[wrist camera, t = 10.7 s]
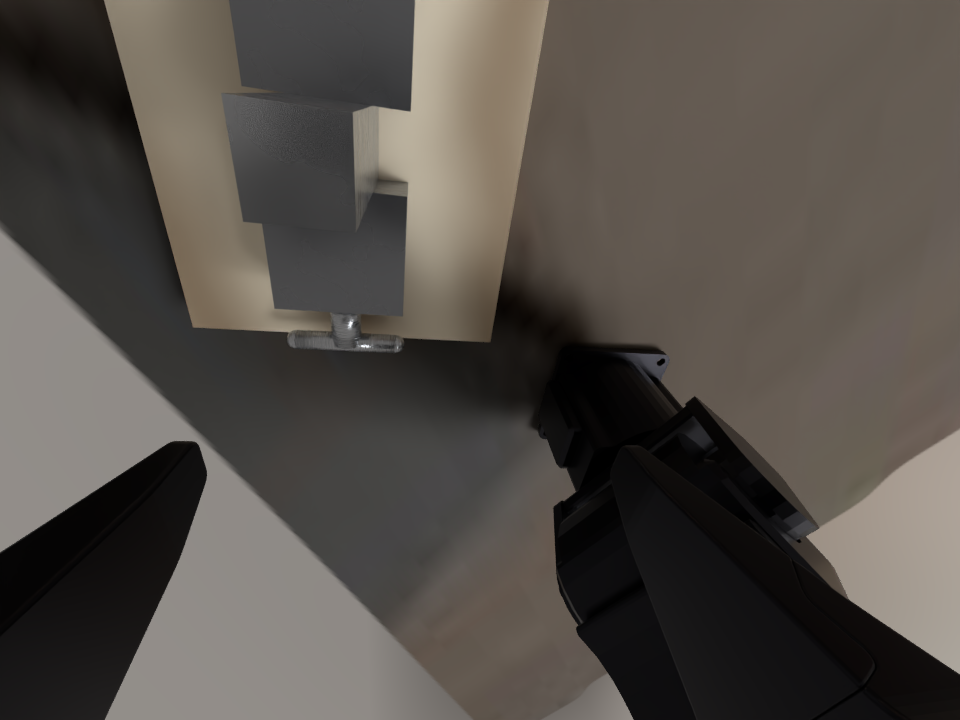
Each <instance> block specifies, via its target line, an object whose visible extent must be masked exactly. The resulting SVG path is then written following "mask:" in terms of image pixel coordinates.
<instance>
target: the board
mask: <svg viewBox="0 0 960 720" xmlns="http://www.w3.org/2000/svg"><path fill="white" fill-rule="evenodd" d="M104 2H105V6H106V9H107V13H108V17H109V20H110V24H111V28H112V31H113V35H114V39H115V42H116V46H117V50H118V53H119V57H120V61H121V64H122V68H123V72H124V75H125V79H126V83H127V86H128V90H129V94H130V97H131V101H132V105H133V108H134V112H135V116H136V119H137V123H138V127H139V131H140V134H141V138H142V142H143V145H144V149H145V153H146V156H147V160H148V164H149V167H150V171H151V175H152V178H153V182H154V186H155V189H156V193H157V197H158V200H159V204H160V208H161V211H162V215H163V219H164V222H165V226H166V230H167V233H168V237H169V241H170V244H171V248H172V252H173V255H174V259H175V263H176V266H177V270H178V274H179V277H180V281H181V285H182V288H183V292H184V296H185V299H186V303H187V307H188V310H189V314H190V318H191V321H192V325H193V327H196V328H216V329H235V330H255V331H275V332H291V331H293V330H312V331H331V318H330V312H319V311H302V310H286V309H274V302H273V295H272V289H271V282H270V275H269V268H268V262H267V255H266V248H265V241H264V234H263V228H262V224H260V223H249V222H243V218H242V212H241V207H240V201H239V195H238V189H237V183H236V177H235V172H234V166H233V160H232V154H231V148H230V142H229V137H228V131H227V125H226V119H225V113H224V107H223V102H222V96H221V93H284V92H277V91H271V90H264V89H257V88H251V87H244V86H242V85H241V79H240V72H239V65H238V58H237V52H236V45H235V38H234V31H233V25H232V18H231V11H230V4H229V0H104ZM548 3H549V0H415V24H414V50H413V76H412V102H411V112H409V111H402V110H396V109H389V108H383V107H379V179H383V180H391V181H399V182H408V205H407V231H406V257H405V283H404V303H403V317H402V316H386V315H369V314H361V331H362V333H370V334H389V335H398V336H400V337H401V338H414V339H433V340H453V341H473V342H490V340H491V335H492V329H493V323H494V317H495V311H496V306H497V300H498V294H499V288H500V282H501V277H502V271H503V265H504V259H505V253H506V247H507V242H508V236H509V230H510V224H511V218H512V213H513V207H514V201H515V195H516V189H517V184H518V178H519V172H520V166H521V160H522V155H523V149H524V143H525V137H526V131H527V125H528V120H529V114H530V108H531V102H532V96H533V91H534V85H535V79H536V73H537V67H538V62H539V56H540V50H541V44H542V38H543V32H544V27H545V21H546V15H547V9H548Z"/></svg>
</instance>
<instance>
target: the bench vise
mask: <svg viewBox="0 0 960 720" xmlns="http://www.w3.org/2000/svg"><path fill="white" fill-rule="evenodd" d="M229 4H230V11H231V18H232V25H233V31H234V38H235V45H236V52H237V58H238V65H239V72H240V79H241V85H242V86H244V87H251V88H257V89H264V90H271V91H277V92H284V93H221V96H222V102H223V107H224V113H225V119H226V125H227V131H228V137H229V142H230V148H231V154H232V160H233V166H234V172H235V177H236V183H237V189H238V195H239V201H240V207H241V212H242V218H243V222H249V223H260V224H262V228H263V234H264V241H265V248H266V255H267V262H268V268H269V275H270V282H271V289H272V295H273V302H274V309H286V310H302V311H319V312H330V318H331V331H312V330H293V331H291V332H290V333H289V334H288V335H287V343H288V345H289V346H290V347H292V348H294V349H310V350H333V351H356V352H379V353H398V352H400V351H402V349H403V348H404V340H403V339H402V338H401V337H400V336H398V335H389V334H370V333H362V331H361V314H369V315H386V316H402V317H403V303H404V283H405V257H406V231H407V205H408V182H399V181H391V180H383V179H379V107H383V108H389V109H396V110H402V111H409V112H411V102H412V76H413V50H414V24H415V0H229Z"/></svg>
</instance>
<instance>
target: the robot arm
mask: <svg viewBox="0 0 960 720" xmlns="http://www.w3.org/2000/svg"><path fill="white" fill-rule="evenodd" d="M568 354H572V355H571V356H570V357H569V358H565V357H566V356H567V355H568ZM661 358H662V359H661ZM659 359H661V360H660V361H658V360H659ZM669 360H670V359H669V357H668V356H667V355H666V354H665V353H664V352H663V351H652V350H632V349H613V348H593V347H573V346H568V347H565V348H563V349H562V350H561V351H560V352H559V355H558V359H557V362H556V366H555V369H554V373H553V376H552V380H550V381H549V382H548V383H547V386H546V389H545V393H544V397H543V400H542V404H541V408H540V411H539V415H538V416H539V419H540V423H539V426H538V433H539V436H540V437H541V438H542V439H547V440H548V443H549V445H550V448H551V451H552V453H553V456H554V459H555V461H556V464H557V465H558V466H559V467H560V468H567V471H568V473H569V476H570V478H571V481H572V483H573V486H574V488H575V491H576V492H575V493H574V494H573V495H571V496H570V497H569V498H568V499H566V500H565V501H560V502H559V503H558V504H557V505H555V506H554V508H553V509H554V531H555V553H556V574H557V581H558V585H559V591H560V594H561V596H562V597H563V599H564V602H565V604H566V606H567V608H568V610H569V611H570V613H571V615H572V617H573V618H574V620H575V621H576V622H577V624H578V626H577V627H576V630H577V633H578V635H579V637H580V638H581V639H582V640H583V641H584V643H585V644H586V645H587V646H588V647H589V648H590V649H591V651H592V652H593V653H594V654H595V655H596V656H597V658H598V659H599V660H600V662H601V663H602V665H603V666H604V668H605V669H606V671H607V672H608V674H609V675H610V677H611V678H612V680H613V681H614V683H615V685H616V687H617V688H618V690H619V692H620V694H621V696H622V697H623V699H624V701H625V703H626V705H627V707H628V709H629V711H630V713H631V715H632V717H633V719H634V720H960V674H958V673H957V672H955V671H954V670H952V669H951V668H949V667H948V666H946V665H945V664H943V663H942V662H940V661H939V660H937V659H936V658H934V657H933V656H931V655H930V654H928V653H927V652H925V651H924V650H922V649H921V648H919V647H918V646H916V645H915V644H914V643H912V642H910V641H909V640H907V639H906V638H904V637H903V636H902V635H900V634H898V633H897V632H896V631H894V630H893V629H891V628H890V627H888V626H887V625H885V624H883V623H882V622H880V621H879V620H878V619H876V618H875V617H873V616H872V615H870V614H869V613H867V612H866V611H864V610H863V609H862V608H860V607H859V606H857V605H856V604H854V603H853V602H851V601H850V600H849V599H848V597H847V594H846V592H845V590H844V588H843V586H842V584H841V582H840V579H839V577H838V575H837V573H836V571H835V569H834V567H833V566H832V565H831V563H830V562H829V561H828V560H827V559H826V558H825V557H824V556H823V554H822V553H821V552H820V551H819V550H818V549H817V548H816V547H815V546H814V545H813V544H812V543H811V542H810V541H809V539H808V538H807V537H806V536H807V535H809V534H810V533H812V532H814V531H816V530H817V529H819V526H818V525H817V523H816V522H815V520H814V519H813V518H812V516H811V515H810V514H809V512H808V511H807V510H806V509H805V507H804V506H803V505H802V503H801V502H800V501H799V499H798V498H797V497H796V495H795V494H794V493H793V491H792V490H791V489H790V487H789V486H788V485H787V483H786V482H785V481H784V479H783V478H782V477H781V476H780V475H779V474H778V473H777V472H776V471H775V470H774V469H773V468H772V467H771V466H770V465H769V464H768V462H767V461H766V460H765V459H764V458H763V457H762V456H761V455H760V454H759V453H758V452H757V451H756V450H755V449H754V448H753V447H752V446H751V445H750V444H749V443H748V442H747V441H746V440H745V439H744V438H743V437H742V436H740V435H739V434H738V433H737V432H736V431H735V430H734V429H732V428H731V427H730V426H729V425H728V424H727V423H725V422H724V421H723V420H722V419H721V418H720V417H719V416H717V415H716V414H715V413H714V412H713V411H712V410H710V409H709V408H708V407H707V406H706V405H705V404H704V403H702V402H701V401H700V400H699V399H698V398H697V397H695V396H694V397H693V398H692V399H691V400H689V401H688V402H687V403H686V404H685V405H686V406H685V407H684V408H683V407H682V406H681V405H680V404H679V403H678V402H677V400H676V399H675V398H674V397H673V396H672V394H671V393H670V392H669V391H668V390H667V389H666V387H665V386H664V385H663V384H662V383H661V379H662V376H663V374H664V372H665V370H666V368H667V365H668V363H669ZM657 361H658V362H657ZM206 478H207V470H206V467H205V463H204V461H203V457H202V454H201V451H200V447H199V445H198V444H197V443H196V442H192V441H174V442H170V443H168V444H166V445H165V446H163V447H162V448H160V449H159V450H157V451H156V452H154V453H153V454H151V455H150V456H148V457H147V458H145V459H143V460H142V461H140V462H139V463H137V464H136V465H134V466H133V467H131V468H130V469H128V470H126V471H125V472H123V473H122V474H120V475H119V476H117V477H116V478H114V479H113V480H111V481H110V482H108V483H106V484H105V485H103V486H102V487H100V488H99V489H97V490H96V491H94V492H93V493H91V494H90V495H88V496H87V497H85V498H84V499H82V500H81V501H79V502H77V503H76V504H74V505H73V506H71V507H69V508H68V509H67V510H65V511H63V512H62V513H60V514H59V515H57V516H56V517H54V518H53V519H51V520H50V521H48V522H47V523H45V524H43V525H42V526H40V527H39V528H37V529H36V530H34V531H33V532H31V533H30V534H28V535H26V536H25V537H23V538H22V539H20V540H19V541H17V542H16V543H14V544H13V545H11V546H9V547H8V548H6V549H5V550H3V551H2V552H0V720H105V718H106V716H107V714H108V711H109V709H110V707H111V705H112V703H113V701H114V699H115V697H116V694H117V692H118V690H119V688H120V686H121V684H122V682H123V679H124V677H125V675H126V673H127V671H128V669H129V667H130V664H131V662H132V660H133V658H134V656H135V654H136V651H137V649H138V647H139V645H140V643H141V641H142V639H143V637H144V634H145V632H146V630H147V628H148V626H149V624H150V622H151V619H152V617H153V615H154V613H155V611H156V609H157V607H158V604H159V602H160V600H161V598H162V595H163V594H164V592H165V589H166V587H167V585H168V583H169V581H170V579H171V577H172V574H173V572H174V570H175V568H176V566H177V563H178V561H179V559H180V556H181V553H182V550H183V548H184V545H185V542H186V539H187V536H188V533H189V530H190V527H191V524H192V521H193V519H194V516H195V513H196V510H197V507H198V504H199V501H200V498H201V495H202V492H203V489H204V486H205V483H206Z"/></svg>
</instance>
